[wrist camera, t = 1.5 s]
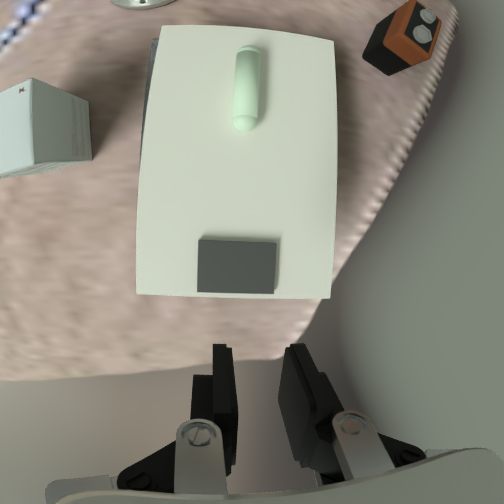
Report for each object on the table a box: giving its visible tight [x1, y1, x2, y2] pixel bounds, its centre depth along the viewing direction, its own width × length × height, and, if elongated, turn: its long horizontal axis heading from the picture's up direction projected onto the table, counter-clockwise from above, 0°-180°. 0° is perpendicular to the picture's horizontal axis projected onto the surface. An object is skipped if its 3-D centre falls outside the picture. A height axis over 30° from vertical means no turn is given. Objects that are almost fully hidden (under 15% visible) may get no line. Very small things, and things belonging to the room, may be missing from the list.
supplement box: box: [0, 78, 92, 179], centre depth 23 cm, size 7×7×13 cm
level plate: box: [136, 25, 337, 299], centre depth 24 cm, size 24×16×4 cm, turn 176°
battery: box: [362, 0, 441, 76], centre depth 25 cm, size 4×7×10 cm, turn 154°
